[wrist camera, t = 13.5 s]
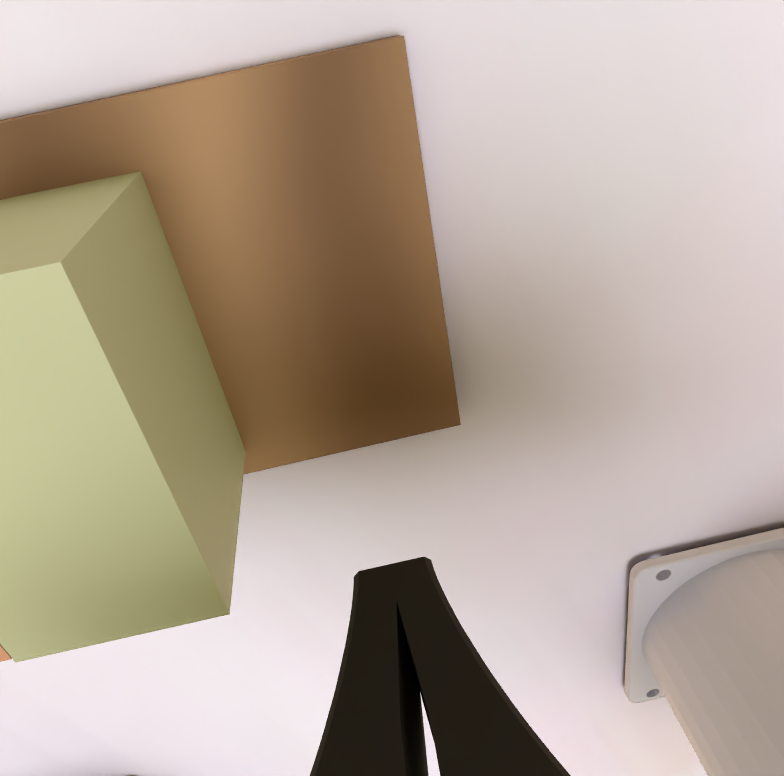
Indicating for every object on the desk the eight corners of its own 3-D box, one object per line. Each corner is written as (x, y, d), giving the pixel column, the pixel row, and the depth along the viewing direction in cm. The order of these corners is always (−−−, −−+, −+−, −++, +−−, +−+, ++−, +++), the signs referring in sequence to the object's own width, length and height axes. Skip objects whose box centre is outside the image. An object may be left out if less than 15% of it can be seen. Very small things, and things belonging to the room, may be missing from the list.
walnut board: (399, 35, 12) (403, 37, 11) (455, 412, 17) (460, 424, 16) (-439, 214, 12) (-472, 223, 11) (-135, 546, 16) (-148, 563, 16)
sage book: (140, 171, 12) (60, 262, 8) (245, 451, 16) (229, 614, 12) (-67, 213, 12) (-261, 328, 8) (89, 485, 16) (15, 662, 11)
